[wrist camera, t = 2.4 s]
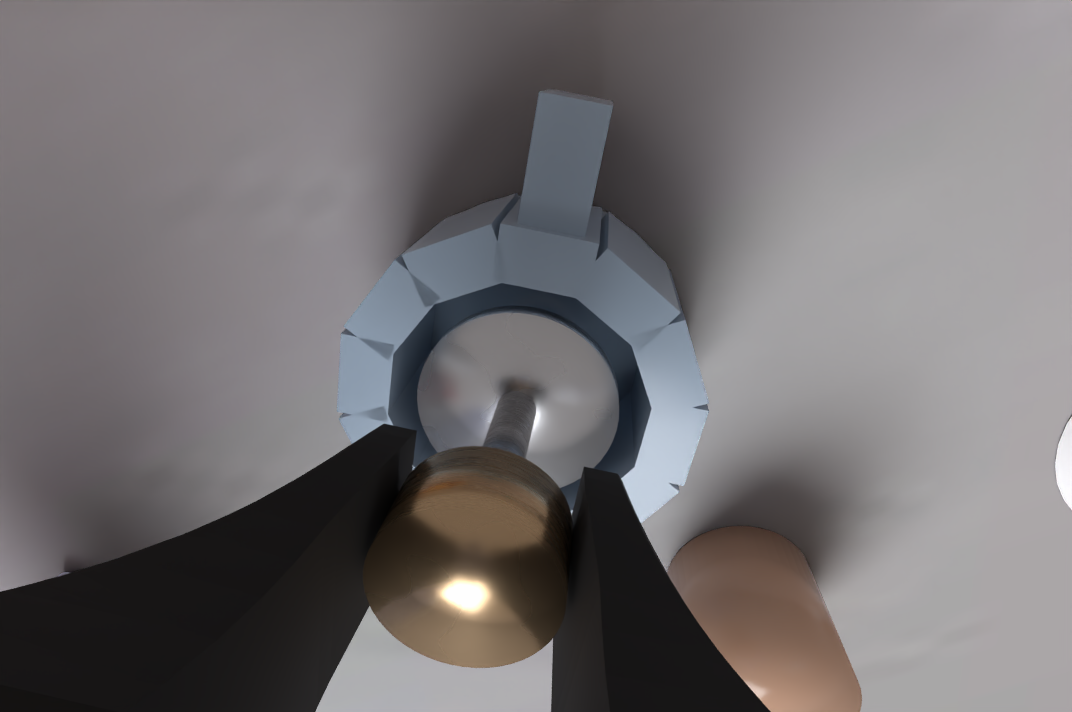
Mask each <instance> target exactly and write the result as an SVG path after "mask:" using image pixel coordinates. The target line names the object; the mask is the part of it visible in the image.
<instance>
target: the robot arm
mask: <svg viewBox="0 0 1072 712" xmlns="http://www.w3.org/2000/svg"><path fill="white" fill-rule="evenodd" d="M416 434H417V430H412V429H407V428H403V427H398V426H393V425H389V424H382V425H381V426H379V427H377V428H376V429H374V430H373V431H371V432H369V433H368V434H366V435H365V436H363V437H362V438H360V439H359V440H357V441H356V442H354V443H353V444H351V445H350V446H348V447H347V448H345V449H344V450H342V451H340V452H339V453H337V454H336V455H334V456H333V457H331V458H330V459H328V460H326V461H325V462H323V463H322V464H320V465H318V466H317V467H315V468H314V469H312V470H310V471H309V472H307V473H305V474H304V475H302V476H301V477H299V478H297V479H296V480H294V481H292V482H290V483H288V484H286V485H285V486H283V487H281V488H279V489H277V490H276V491H274V492H272V493H270V494H268V495H267V496H265V497H263V498H261V499H259V500H258V501H256V502H254V503H252V504H250V505H248V506H246V507H244V508H242V509H239V510H237V511H235V512H233V513H231V514H229V515H227V516H225V517H222V518H220V519H218V520H215V521H213V522H211V523H209V524H206V525H204V526H202V527H200V528H197V529H195V530H193V531H190V532H188V533H185V534H183V535H180V536H177V537H175V538H172V539H169V540H166V541H164V542H161V543H158V544H156V545H153V546H150V547H147V548H145V549H142V550H139V551H137V552H134V553H131V554H128V555H126V556H123V557H120V558H117V559H114V560H111V561H108V562H105V563H102V564H98V565H95V566H92V567H89V568H85V569H82V570H79V571H76V572H72V573H70V572H63V573H60V574H59V575H58V576H57V577H55V578H51V579H47V580H44V581H40V582H37V583H33V584H29V585H25V586H22V587H18V588H14V589H10V590H6V591H2V592H0V712H315V711H316V709H317V706H318V704H319V702H320V700H321V698H322V696H323V694H324V692H325V690H326V688H327V686H328V683H329V681H330V679H331V678H332V676H333V674H334V672H335V670H336V668H337V666H338V664H339V662H340V661H341V659H342V657H343V655H344V653H345V651H346V649H347V647H348V645H349V643H350V642H351V640H352V638H353V636H354V634H355V632H356V630H357V628H358V626H359V625H360V623H361V621H362V619H363V617H364V615H365V613H366V611H367V609H368V607H369V606H370V605H369V603H368V600H367V597H366V594H365V590H364V584H363V568H364V562H365V559H366V556H367V553H368V551H369V549H370V547H371V545H372V543H373V541H374V539H375V537H376V535H377V533H378V531H379V529H380V527H381V526H382V524H383V522H384V520H385V518H386V516H387V514H388V512H389V510H390V508H391V506H392V504H393V502H394V500H395V498H396V497H397V495H398V493H399V491H400V489H401V487H402V485H403V483H404V481H405V480H406V478H407V477H408V475H409V474H410V473H411V472H412V468H413V460H414V451H415V442H416ZM572 521H573V532H572V546H571V558H570V569H569V581H568V592H567V604H566V610H565V616H564V619H563V621H562V624H561V626H560V628H559V630H558V631H557V633H556V635H555V636H554V637H553V667H552V704H551V712H771V711H770V710H769V709H768V708H767V707H766V706H765V705H764V704H763V702H762V701H761V700H760V699H759V698H758V697H757V696H756V694H755V693H754V692H753V691H752V690H751V689H750V687H749V686H748V685H747V684H746V683H745V682H744V681H743V679H742V678H741V677H740V676H739V675H738V674H737V672H736V671H735V670H734V669H733V668H732V666H731V665H730V664H729V663H728V661H727V660H726V659H725V658H724V657H723V655H722V654H721V653H720V652H719V650H718V649H717V648H716V646H715V645H714V644H713V642H712V641H711V639H710V638H709V637H708V635H707V634H706V633H705V631H704V630H703V629H702V627H701V626H700V625H699V623H698V622H697V620H696V619H695V617H694V616H693V614H692V613H691V611H690V610H689V608H688V607H687V605H686V604H685V602H684V600H683V599H682V597H681V596H680V594H679V592H678V591H677V589H676V587H675V586H674V584H673V583H672V581H671V579H670V578H669V576H668V574H667V572H666V571H665V569H664V567H663V565H662V564H661V562H660V560H659V558H658V556H657V554H656V552H655V550H654V548H653V547H652V545H651V543H650V541H649V539H648V537H647V535H646V533H645V531H644V529H643V527H642V525H641V523H640V521H639V519H638V516H637V514H636V512H635V510H634V508H633V505H632V503H631V501H630V499H629V496H628V494H627V491H626V489H625V486H624V484H623V481H622V479H621V478H620V476H619V475H618V474H617V473H612V472H608V471H603V470H598V469H594V468H589V467H584V468H583V472H582V476H581V480H580V484H579V488H578V492H577V496H576V500H575V504H574V508H573V512H572Z"/></svg>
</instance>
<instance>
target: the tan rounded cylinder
mask: <svg viewBox="0 0 1072 712" xmlns="http://www.w3.org/2000/svg"><path fill="white" fill-rule="evenodd" d="M667 574H668V576H669V578H670V579H671V581H672V583H673V584H674V586H675V587H676V589H677V591H678V592H679V594H680V596H681V597H682V599H683V600H684V602H685V604H686V605H687V607H688V608H689V610H690V611H691V613H692V614H693V616H694V617H695V619H696V620H697V622H698V623H699V625H700V626H701V627H702V629H703V630H704V631H705V633H706V634H707V635H708V637H709V638H710V639H711V641H712V642H713V644H714V645H715V646H716V648H717V649H718V650H719V652H720V653H721V654H722V655H723V657H724V658H725V659H726V660H727V661H728V663H729V664H730V665H731V666H732V668H733V669H734V670H735V671H736V672H737V674H738V675H739V676H740V677H741V678H742V679H743V681H744V682H745V683H746V684H747V685H748V686H749V687H750V689H751V690H752V691H753V692H754V693H755V694H756V696H757V697H758V698H759V699H760V700H761V701H762V702H763V704H764V705H765V706H766V707H767V708H768V709H769V710H770V711H771V712H860V709H861V703H862V695H861V688H860V686H859V683H858V680H857V678H856V675H855V673H854V671H853V668H852V666H851V663H850V661H849V659H848V656H847V654H846V652H845V649H844V647H843V645H842V642H841V640H840V637H839V635H838V633H837V630H836V628H835V626H834V623H833V621H832V618H831V616H830V614H829V611H828V609H827V607H826V604H825V602H824V600H823V597H822V595H821V592H820V590H819V588H818V585H817V583H816V581H815V578H814V576H813V573H812V571H811V569H810V566H809V564H808V562H807V560H806V558H805V556H804V555H803V553H802V552H801V551H800V550H799V548H797V547H796V546H795V545H794V544H793V543H792V542H791V541H789V540H788V539H786V538H785V537H783V536H781V535H779V534H777V533H775V532H772V531H769V530H766V529H762V528H757V527H751V526H730V527H723V528H718V529H715V530H711V531H708V532H706V533H703V534H701V535H699V536H697V537H696V538H694V539H692V540H691V541H690V542H688V543H687V544H686V545H685V546H683V547H682V548H681V549H680V550H679V552H678V553H677V554H676V555H675V557H674V558H673V560H672V562H671V564H670V566H669V569H668V573H667Z"/></svg>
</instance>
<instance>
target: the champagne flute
mask: <svg viewBox="0 0 1072 712" xmlns="http://www.w3.org/2000/svg"><path fill="white" fill-rule="evenodd" d="M1055 469H1056V479H1057V484H1058V487H1059V489H1060V492H1061V494H1062V497H1063V499H1064V501H1065V502H1066V503H1067V504H1068V506H1069V507H1070V508H1071V509H1072V417H1071V418H1070V420H1069V421H1068V423H1067V424H1066V427H1065V429H1064V432H1063V434H1062V437H1061V439H1060V441H1059V444H1058V449H1057V455H1056V461H1055Z"/></svg>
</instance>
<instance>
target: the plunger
mask: <svg viewBox="0 0 1072 712" xmlns="http://www.w3.org/2000/svg"><path fill="white" fill-rule="evenodd" d="M417 403H418V412H419V416H420V420H421V423H422V426H423V428H424V431H425V433H426V435H427V437H428V439H429V441H430V443H431V444H432V446H433V447H434V448H435V450H436V451H437V452H438V453H437V454H435V455H433V456H431V457H429V458H427V459H426V460H424V461H423V462H421V463H420V464H419V465H418V466H417V467H415V468H414V469H413V470H412V472H411V473H410V474H409V475H408V477H407V478H406V480H405V481H404V483H403V485H402V487H401V489H400V491H399V493H398V495H397V497H396V498H395V500H394V502H393V504H392V506H391V508H390V510H389V512H388V514H387V516H386V518H385V520H384V522H383V524H382V526H381V527H380V529H379V531H378V533H377V535H376V537H375V539H374V541H373V543H372V545H371V547H370V549H369V551H368V553H367V556H366V559H365V562H364V568H363V584H364V590H365V594H366V597H367V600H368V603H369V605H370V607H371V609H372V611H373V612H374V614H375V615H376V617H377V618H378V620H379V621H380V622H381V623H382V625H383V626H384V627H385V628H386V629H387V630H388V631H389V632H390V633H391V634H392V635H393V636H394V637H395V638H397V639H398V640H399V641H400V642H402V643H403V644H404V645H406V646H408V647H409V648H411V649H413V650H414V651H416V652H418V653H420V654H422V655H424V656H426V657H429V658H431V659H434V660H437V661H440V662H443V663H447V664H451V665H456V666H462V667H472V668H490V667H498V666H504V665H508V664H512V663H515V662H518V661H521V660H523V659H525V658H528V657H530V656H532V655H533V654H535V653H536V652H538V651H539V650H541V649H542V648H543V647H544V646H546V645H547V644H548V643H549V642H550V641H551V640H552V638H553V637H554V636H555V635H556V633H557V631H558V630H559V628H560V626H561V624H562V621H563V619H564V616H565V610H566V604H567V592H568V581H569V569H570V558H571V546H572V532H573V521H572V515H571V511H570V508H569V504H568V502H567V500H566V498H565V496H564V494H563V492H562V491H561V489H560V488H562V487H564V486H566V485H569V484H571V483H573V482H575V481H577V480H578V479H580V478H581V476H582V472H583V468H584V467H589V468H594V467H595V466H596V465H597V464H598V463H599V462H600V461H601V460H602V458H603V457H604V456H605V454H606V453H607V451H608V449H609V448H610V446H611V444H612V442H613V439H614V436H615V434H616V431H617V426H618V420H619V392H618V384H617V380H616V376H615V373H614V370H613V368H612V366H611V363H610V361H609V359H608V358H607V356H606V354H605V353H604V351H603V350H602V348H601V347H600V346H599V345H598V343H597V342H596V341H595V340H594V339H593V338H592V337H591V336H590V335H589V334H588V333H587V332H586V331H585V330H583V329H582V328H581V327H579V326H578V325H576V324H575V323H573V322H572V321H570V320H568V319H566V318H565V317H563V316H560V315H558V314H555V313H553V312H551V311H547V310H543V309H540V308H535V307H528V306H501V307H494V308H490V309H486V310H482V311H480V312H477V313H475V314H472V315H470V316H468V317H466V318H465V319H463V320H461V321H460V322H458V323H457V324H456V325H454V326H453V327H452V328H450V329H449V330H448V331H447V332H446V333H445V334H444V335H443V336H442V338H441V339H440V340H439V342H438V343H437V344H436V346H435V347H434V349H433V350H432V352H431V353H430V355H429V356H428V358H427V360H426V362H425V364H424V366H423V369H422V372H421V375H420V378H419V383H418V390H417Z"/></svg>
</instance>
